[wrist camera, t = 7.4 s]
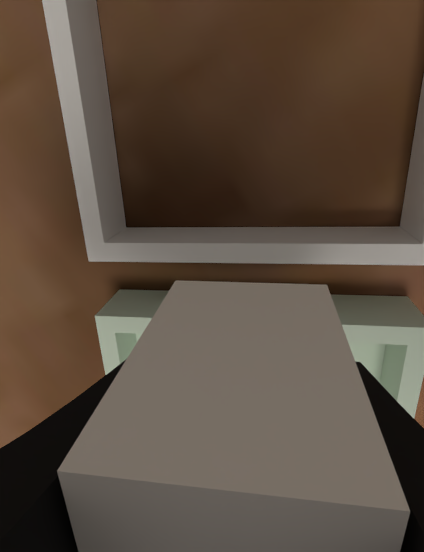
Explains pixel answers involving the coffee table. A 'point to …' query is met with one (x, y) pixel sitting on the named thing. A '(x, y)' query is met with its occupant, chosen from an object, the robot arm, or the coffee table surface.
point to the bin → (194, 240)
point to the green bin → (352, 313)
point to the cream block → (236, 434)
